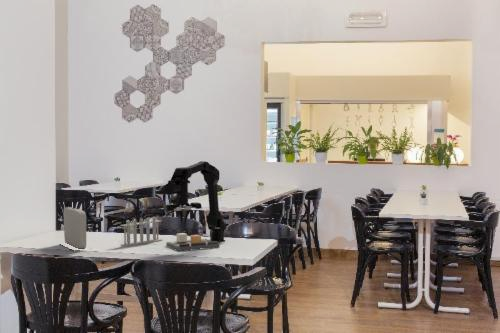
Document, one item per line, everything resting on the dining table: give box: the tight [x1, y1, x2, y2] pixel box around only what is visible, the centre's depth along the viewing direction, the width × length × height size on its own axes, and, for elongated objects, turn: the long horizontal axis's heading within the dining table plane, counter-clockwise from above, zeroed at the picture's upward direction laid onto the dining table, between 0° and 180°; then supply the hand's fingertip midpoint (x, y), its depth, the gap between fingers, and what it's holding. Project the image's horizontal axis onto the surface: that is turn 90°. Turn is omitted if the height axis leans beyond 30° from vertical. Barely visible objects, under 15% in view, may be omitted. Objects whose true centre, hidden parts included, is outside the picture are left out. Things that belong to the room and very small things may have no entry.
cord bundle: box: [179, 241, 219, 247], centre depth 366 cm, size 21×2×2 cm, turn 117°
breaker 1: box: [176, 232, 188, 242], centre depth 376 cm, size 4×4×4 cm
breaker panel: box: [165, 238, 220, 252], centre depth 373 cm, size 22×18×2 cm
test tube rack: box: [119, 216, 163, 247], centre depth 387 cm, size 25×4×13 cm, turn 138°
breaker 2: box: [189, 234, 202, 243], centre depth 369 cm, size 4×4×4 cm
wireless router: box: [63, 206, 93, 252], centre depth 376 cm, size 31×10×20 cm, turn 31°
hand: (182, 223), depth 366 cm, fingers closed
